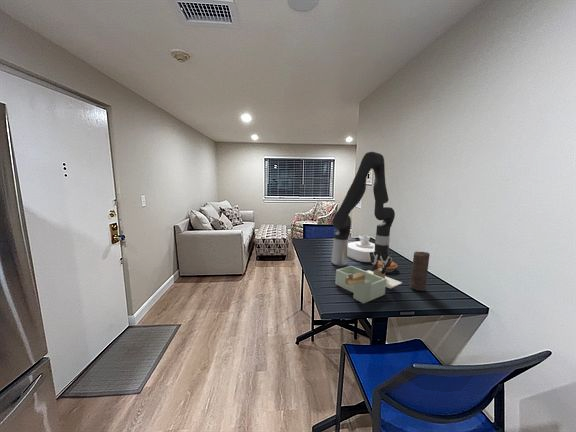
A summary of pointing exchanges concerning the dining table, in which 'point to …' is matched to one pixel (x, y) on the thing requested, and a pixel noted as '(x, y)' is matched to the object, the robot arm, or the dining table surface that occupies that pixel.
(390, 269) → the pie
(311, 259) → the dining table surface
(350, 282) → the tan tapered bar
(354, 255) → the white knobbed disc
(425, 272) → the candle
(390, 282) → the lid
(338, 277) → the light green open box
